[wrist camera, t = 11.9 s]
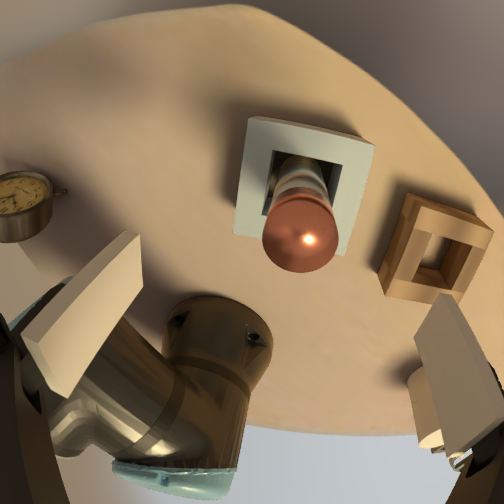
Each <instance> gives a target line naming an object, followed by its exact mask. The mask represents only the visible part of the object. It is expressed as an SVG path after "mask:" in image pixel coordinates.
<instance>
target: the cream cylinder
mask: <svg viewBox="0 0 504 504" xmlns="http://www.w3.org/2000/svg"><path fill="white" fill-rule="evenodd" d="M407 385H408V389H409V394H410V399H411V404H412V409H413V414H414V419H415V425H416V430H417V436H418V443H419V447H420V448H434V447H438V446H441V445H444V442H443V437H442V433H441V428H440V424H439V420H438V416H437V412H436V408H435V404H434V401H433V397H432V394H431V390H430V387H429V383H428V380H427V377H426V373H425V370H424V367H423V366H422V367H420V368H418V369H417V370H416V371H415V372H413V373H412V374H411V376H410V377H409V379H408V381H407Z"/></svg>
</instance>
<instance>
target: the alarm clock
mask: <svg viewBox="0 0 504 504" xmlns="http://www.w3.org/2000/svg"><path fill="white" fill-rule="evenodd" d="M61 194H67V190H66V189H65V190H63V191H61V190H57V191H53V186H52V183H51V181H50V180H49V179H48V178H47V177H46V176H44V175H42V174H40V173H37V172H33V171H14V172H9V173H5V174H2V175H0V242H1V243H16V242H21V241H24V240H27V239H29V238H31V237H33V236H35V235H36V234H38V233H39V232H41V231H42V230H43V229H44V228H45V227H46V225H47V224H48V223H49V221H50V219H51V217H52V197H54V196H58V195H61Z"/></svg>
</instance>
